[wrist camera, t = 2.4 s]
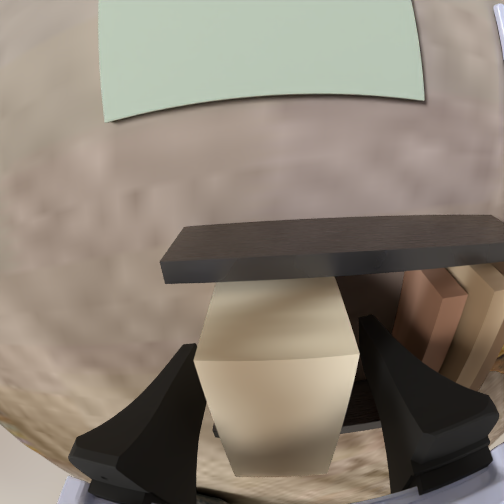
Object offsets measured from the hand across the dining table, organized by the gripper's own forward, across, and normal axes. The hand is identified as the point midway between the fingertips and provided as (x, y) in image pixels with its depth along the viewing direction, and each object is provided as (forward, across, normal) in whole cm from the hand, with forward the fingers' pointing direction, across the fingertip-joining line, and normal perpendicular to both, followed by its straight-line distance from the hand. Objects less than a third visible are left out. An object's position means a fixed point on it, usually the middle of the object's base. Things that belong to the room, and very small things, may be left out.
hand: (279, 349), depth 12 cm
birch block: (+2, 0, 0) cm, 2 cm away
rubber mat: (+1, -3, -20) cm, 20 cm away
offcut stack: (+2, -8, +1) cm, 8 cm away
